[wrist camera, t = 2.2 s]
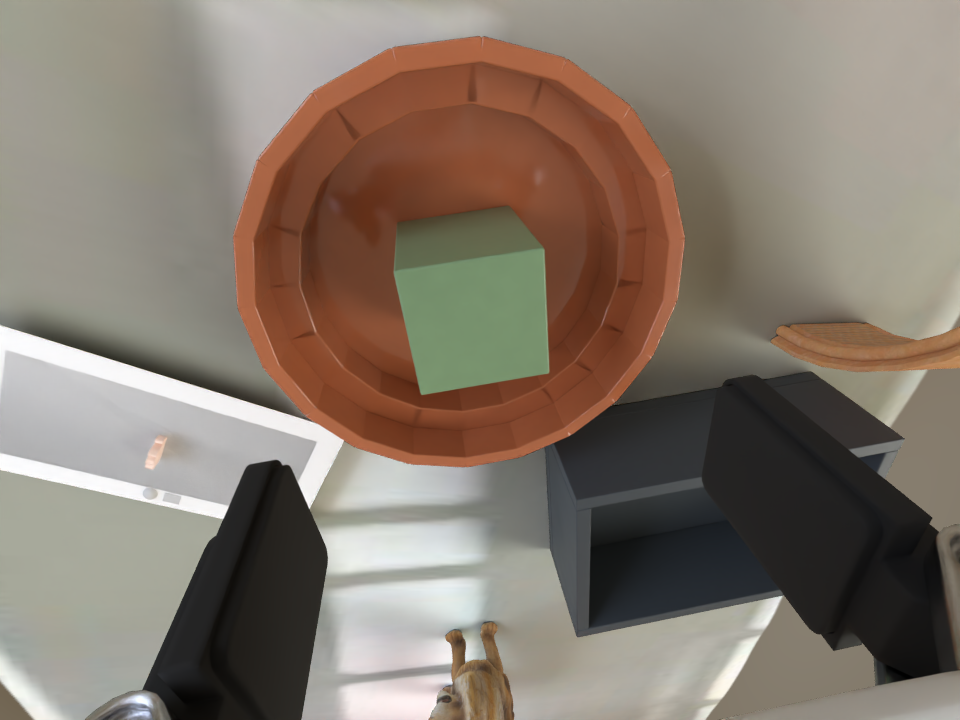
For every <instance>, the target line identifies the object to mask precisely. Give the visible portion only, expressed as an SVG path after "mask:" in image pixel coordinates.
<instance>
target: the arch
mask: <svg viewBox="0 0 960 720" xmlns="http://www.w3.org/2000/svg"><path fill="white" fill-rule="evenodd" d="M776 334H777V335H778V336H777V337H775V338H773V339H772V340H771V343H772V344H774V345H776V346H777V347H779V348H780V349H782V350H784V351H785V352H787V353H789V354H790V355H792V356H793V357H796V358H799V359H802V360H804V361H807V362H810V363H813V364H816V365H819V366H822V367H827V368H834V369H840V370H847V371H854V372H871V371H901V370H924V369H946V368H960V327H958V328H955V329H953V330H951V331H948V332H946V333H943V334H941V335H937V336H934V337H930V338H926V339H922V340H914V339H910V338H905V337H901V336H897V335H893V334H891V333H889V332H886V331H884V330H882V329H880V328H878V327H875V326H873V325H871V324H869V323H865V324H861V323H859V322H857V323H819V324H792V325H791V326H790V327H789V328H788V327H787V326H785V325H782V326H780V327H778V328H777V330H776Z"/></svg>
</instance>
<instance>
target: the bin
mask: <svg viewBox="0 0 960 720" xmlns="http://www.w3.org/2000/svg"><path fill="white" fill-rule="evenodd" d="M763 381H764V382H766V383H767V384H768V385H769V386H771V387H772V388H773V389H774V390H776V391H777V392H778V393H779V394H780V395H782V396H783V397H784V398H785V399H787V400H788V401H789V402H790V403H792V404H793V405H794V406H795V407H797V408H798V409H799V410H800V411H801V412H803V413H804V414H805V415H806V416H808V417H809V418H810V419H811V420H813V421H814V422H815V423H816V424H817V425H819V426H820V427H821V428H822V429H824V430H825V431H826V432H827V433H829V434H830V435H831V436H832V437H834V438H835V439H836V440H837V441H838V442H840V443H841V444H842V445H843V446H845V447H846V448H847V449H848V450H850V451H851V452H852V453H853V454H854V455H856V456H857V457H858V458H859V459H861V460H862V461H863V462H864V463H866V464H867V465H868V466H869V467H870V468H872V469H873V470H874V471H875V472H877V473H878V474H879V475H880V476H882V477H883V478H884V479H885V477H886V476H887V474H888V472H889V470H890V467H891V466H892V463H893V461H894V459H895V457H896V455H897V453H898V450H899V449H900V448H901V446H902V444H903V442H904V438H903V437H902V436H900V435H899V434H898V433H896V432H895V431H893V430H892V429H891V428H889V427H888V426H886V425H885V424H884V423H882V422H881V421H880V420H878V419H877V418H875V417H874V416H873V415H871V414H870V413H868V412H867V411H866V410H864V409H863V408H862V407H860V406H859V405H857V404H856V403H855V402H853V401H852V400H850V399H849V398H848V397H846V396H845V395H844V394H842V393H841V392H839V391H838V390H837V389H835V388H834V387H832V386H831V385H830V384H828V383H827V382H826V381H824V380H823V379H821V378H820V377H818V376H817V375H815V374H814V373H813V372H806V373H800V374H795V375H789V376H783V377H778V378H772V379H766V380H763ZM718 389H719V388H715V389H710V390H704V391H698V392H693V393H687V394H681V395H676V396H670V397H664V398H659V399H653V400H647V401H642V402H636V403H630V404H625V405H619V406H613V407H608V408H607V409H606V410H604V411H603V412H602V413H600V414H599V415H598V416H596V417H595V418H594V419H592V420H591V421H590V422H588V423H587V424H586V425H584V426H583V427H582V428H580V429H579V430H578V431H576V432H575V433H574V434H572V435H570V436H569V437H566V438H564V439H562V440H560V441H557V442H555V443H553V444H550V445H548V446H546V447H545V454H546V474H547V493H548V513H549V533H550V551H551V554H552V557H553V559H554V564H555V567H556V570H557V574H558V577H559V580H560V583H561V587H562V590H563V593H564V597H565V600H566V603H567V606H568V610H569V613H570V616H571V619H572V623H573V626H574V629H575V633H576V636H577V637H582V636H587V635H591V634H596V633H601V632H606V631H611V630H616V629H621V628H626V627H631V626H636V625H640V624H645V623H650V622H655V621H660V620H665V619H670V618H675V617H680V616H685V615H690V614H694V613H699V612H704V611H709V610H714V609H719V608H724V607H729V606H734V605H739V604H743V603H748V602H753V601H758V600H763V599H768V598H773V597H778V596H783V595H784V594H783V593H782V592H781V590H780V589H779V588H778V586H777V585H776V584H775V582H774V581H773V580H772V578H771V577H770V576H769V574H768V573H767V572H766V570H765V569H764V568H763V566H762V565H761V564H760V562H759V561H758V560H757V558H756V557H755V556H754V554H753V553H752V552H751V550H750V549H749V548H748V546H747V545H746V544H745V542H744V541H743V540H742V538H741V537H740V536H739V534H738V533H737V532H736V530H735V529H734V528H733V526H732V525H731V524H730V522H729V521H728V520H727V518H726V517H725V516H724V514H723V513H722V512H721V510H720V509H719V508H718V506H717V505H716V504H715V502H714V501H713V500H712V498H711V497H710V496H709V494H708V493H707V491H706V490H705V488H704V486H703V482H702V471H703V465H704V459H705V454H706V448H707V443H708V437H709V431H710V426H711V420H712V414H713V409H714V403H715V397H716V393H717V390H718Z"/></svg>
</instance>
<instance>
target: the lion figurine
mask: <svg viewBox="0 0 960 720" xmlns="http://www.w3.org/2000/svg"><path fill="white" fill-rule="evenodd" d="M496 632H497V625H496V624H495V623H493V622H487V623H484V624H483V625H482V627H481V633H480V635H481V638H482V641H483V644H484V648H485V651H486V658H487V659H486V660H472V661H469V662H467V663H466V664H465V649H466V642H465V639H464V638H463V635H462V633H461V632H460V631H459V630H453V631H451V632H449V633H448V634H447V635H446V636H445V638H446V640H447V641H448V642H449V643H450V644H451V647H452V654H453V663H452V682H453V685H452V686H447V687H445V688H443V690H442V691H440V692H439V693H438V696H437V705H436V707H435V708H434V710H433V711H432V713H431V715H430V718H429V720H514V712H513V699H512V695H511V691H510V685H509V681H508V678H507V676H506V674H504V673H503V667H502V663H501V659H500V656H499V653H498V649H497V646H496V644H495V640H494V634H495V633H496Z"/></svg>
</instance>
